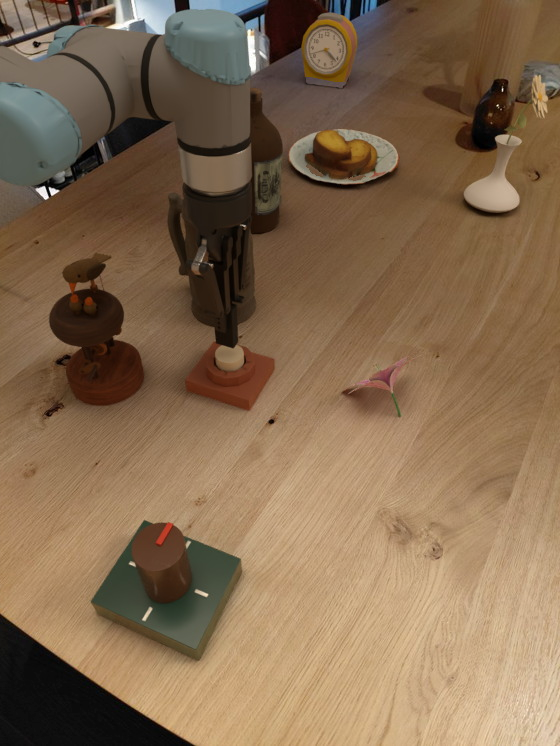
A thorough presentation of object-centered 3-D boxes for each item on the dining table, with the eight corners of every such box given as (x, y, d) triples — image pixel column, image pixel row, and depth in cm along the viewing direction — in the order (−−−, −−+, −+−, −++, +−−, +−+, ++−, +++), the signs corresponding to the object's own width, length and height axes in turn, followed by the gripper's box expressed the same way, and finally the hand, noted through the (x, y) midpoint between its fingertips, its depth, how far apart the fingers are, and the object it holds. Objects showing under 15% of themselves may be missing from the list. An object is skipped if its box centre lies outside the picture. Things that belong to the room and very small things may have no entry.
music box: (78, 347, 88) (55, 233, 74) (151, 351, 88) (141, 240, 74) (52, 423, 77) (18, 307, 63) (135, 427, 78) (119, 313, 64)
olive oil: (218, 221, 115) (208, 90, 97) (256, 203, 120) (253, 75, 102) (254, 241, 109) (251, 107, 92) (292, 221, 115) (296, 91, 97)
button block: (186, 390, 81) (183, 371, 79) (214, 351, 87) (212, 331, 85) (249, 411, 79) (248, 391, 76) (274, 369, 85) (274, 349, 82)
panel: (96, 613, 59) (89, 600, 57) (148, 533, 66) (143, 518, 63) (199, 661, 56) (195, 649, 54) (242, 571, 62) (241, 557, 60)
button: (210, 367, 80) (209, 358, 79) (223, 349, 82) (222, 340, 81) (236, 375, 79) (236, 366, 77) (248, 357, 81) (248, 348, 80)
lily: (423, 381, 85) (406, 324, 81) (450, 417, 74) (431, 352, 70) (347, 409, 86) (327, 353, 82) (362, 447, 75) (340, 385, 71)
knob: (177, 610, 56) (167, 577, 51) (133, 592, 57) (120, 558, 52) (200, 566, 60) (193, 530, 54) (158, 549, 61) (148, 513, 56)
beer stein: (270, 298, 97) (262, 186, 83) (241, 335, 90) (226, 220, 76) (193, 280, 102) (173, 172, 88) (160, 314, 95) (133, 203, 81)
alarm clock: (299, 84, 171) (301, 14, 158) (307, 75, 177) (310, 7, 164) (347, 90, 168) (354, 19, 155) (354, 81, 174) (360, 12, 161)
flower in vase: (493, 223, 115) (533, 93, 97) (450, 201, 121) (481, 75, 104) (533, 205, 120) (578, 79, 103) (490, 184, 127) (525, 62, 109)
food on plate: (417, 164, 134) (423, 136, 129) (350, 202, 121) (354, 172, 116) (335, 132, 146) (337, 106, 141) (266, 163, 133) (266, 135, 129)
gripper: (213, 150, 66) (223, 308, 83) (154, 200, 58) (179, 365, 75) (272, 162, 65) (270, 321, 81) (220, 216, 56) (230, 381, 73)
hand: (227, 342), depth 78 cm, fingers closed
